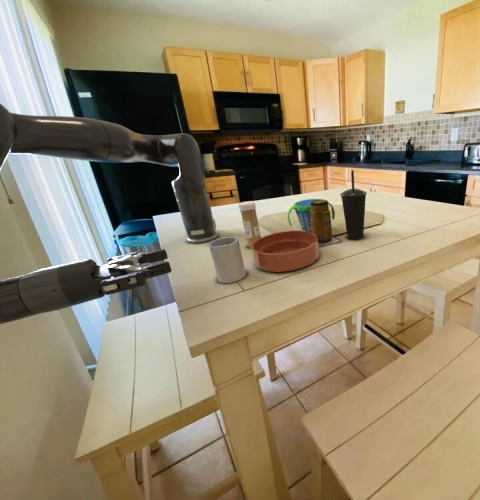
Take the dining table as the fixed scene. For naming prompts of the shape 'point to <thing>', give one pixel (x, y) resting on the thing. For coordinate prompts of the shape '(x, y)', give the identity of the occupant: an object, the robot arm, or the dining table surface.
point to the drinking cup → (354, 211)
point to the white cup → (227, 259)
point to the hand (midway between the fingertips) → (168, 259)
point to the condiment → (321, 222)
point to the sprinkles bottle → (250, 221)
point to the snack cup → (305, 213)
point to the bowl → (285, 250)
